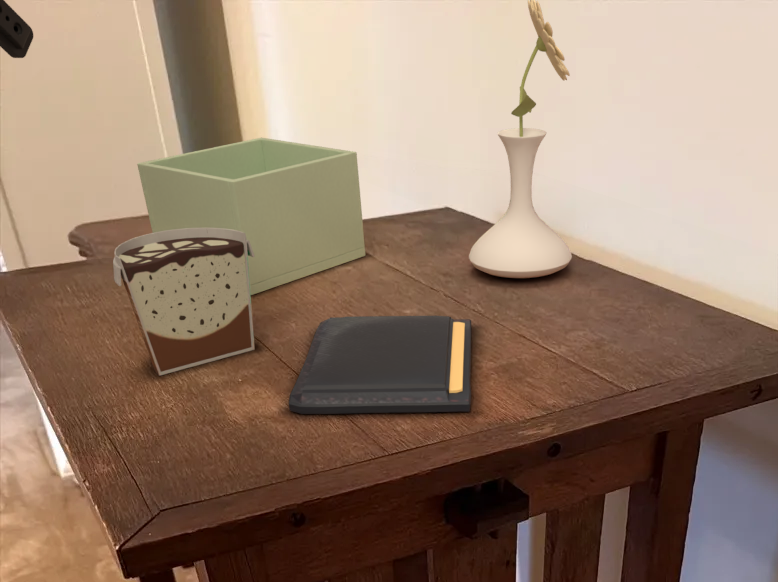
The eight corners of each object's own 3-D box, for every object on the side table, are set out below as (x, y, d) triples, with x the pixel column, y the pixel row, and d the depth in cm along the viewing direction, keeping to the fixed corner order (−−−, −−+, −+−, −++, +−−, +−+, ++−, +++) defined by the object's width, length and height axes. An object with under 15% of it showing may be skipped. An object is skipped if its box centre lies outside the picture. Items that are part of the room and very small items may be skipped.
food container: (237, 328, 89) (218, 218, 83) (269, 345, 85) (250, 231, 79) (115, 360, 83) (84, 244, 77) (143, 380, 79) (112, 259, 73)
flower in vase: (557, 291, 96) (568, 3, 81) (455, 282, 99) (447, 2, 84) (584, 257, 106) (599, -6, 90) (490, 250, 109) (489, -7, 93)
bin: (160, 269, 104) (136, 163, 97) (275, 235, 115) (261, 137, 108) (251, 295, 97) (232, 181, 90) (365, 255, 108) (356, 151, 101)
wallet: (319, 307, 88) (477, 307, 87) (321, 327, 89) (478, 327, 88) (276, 392, 72) (469, 392, 71) (280, 415, 73) (470, 415, 73)
